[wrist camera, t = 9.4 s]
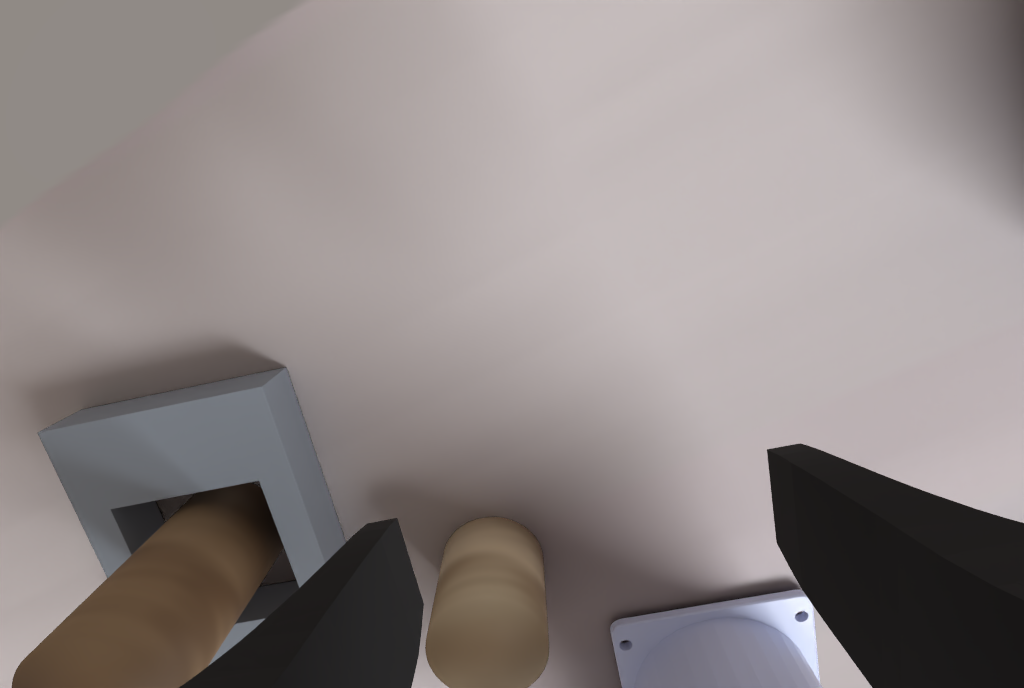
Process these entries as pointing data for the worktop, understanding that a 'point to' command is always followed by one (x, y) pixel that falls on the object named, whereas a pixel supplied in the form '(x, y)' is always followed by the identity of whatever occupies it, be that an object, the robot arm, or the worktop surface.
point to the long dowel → (165, 600)
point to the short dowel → (489, 608)
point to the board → (198, 472)
